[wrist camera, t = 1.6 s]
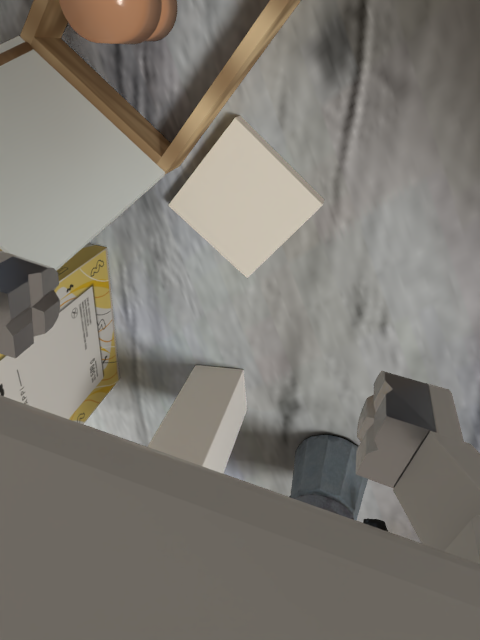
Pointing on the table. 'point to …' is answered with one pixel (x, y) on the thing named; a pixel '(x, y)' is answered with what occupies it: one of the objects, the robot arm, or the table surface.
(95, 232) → the propped lid
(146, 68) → the table surface
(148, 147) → the cold frame
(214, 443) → the milk
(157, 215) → the table surface
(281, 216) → the tile
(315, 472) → the moka pot
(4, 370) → the pasta box
